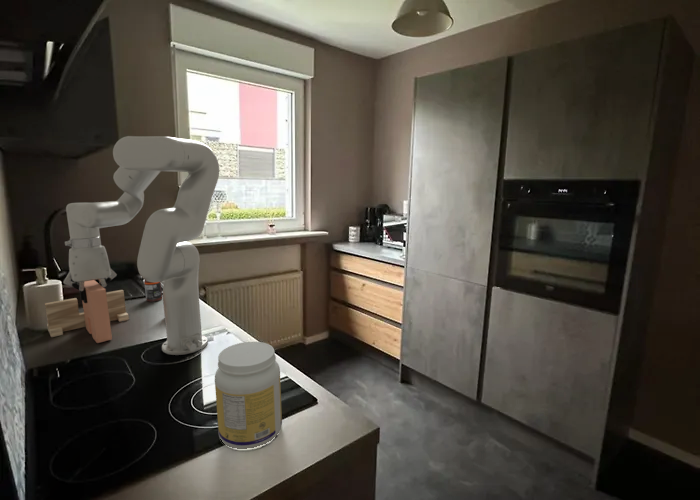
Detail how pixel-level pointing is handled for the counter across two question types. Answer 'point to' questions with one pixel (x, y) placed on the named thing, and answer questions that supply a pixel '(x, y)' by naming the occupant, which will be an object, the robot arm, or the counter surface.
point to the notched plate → (97, 312)
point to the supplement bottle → (153, 291)
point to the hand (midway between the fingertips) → (94, 299)
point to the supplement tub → (248, 395)
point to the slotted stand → (69, 318)
